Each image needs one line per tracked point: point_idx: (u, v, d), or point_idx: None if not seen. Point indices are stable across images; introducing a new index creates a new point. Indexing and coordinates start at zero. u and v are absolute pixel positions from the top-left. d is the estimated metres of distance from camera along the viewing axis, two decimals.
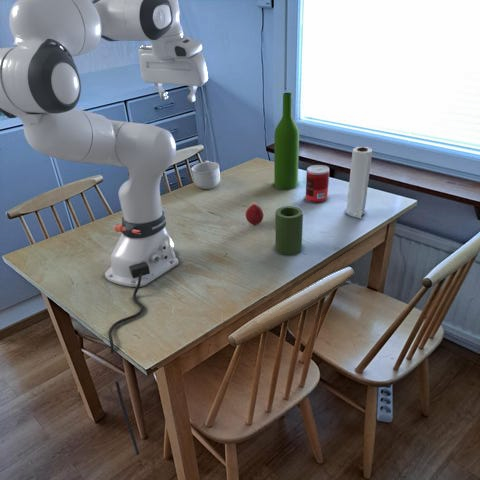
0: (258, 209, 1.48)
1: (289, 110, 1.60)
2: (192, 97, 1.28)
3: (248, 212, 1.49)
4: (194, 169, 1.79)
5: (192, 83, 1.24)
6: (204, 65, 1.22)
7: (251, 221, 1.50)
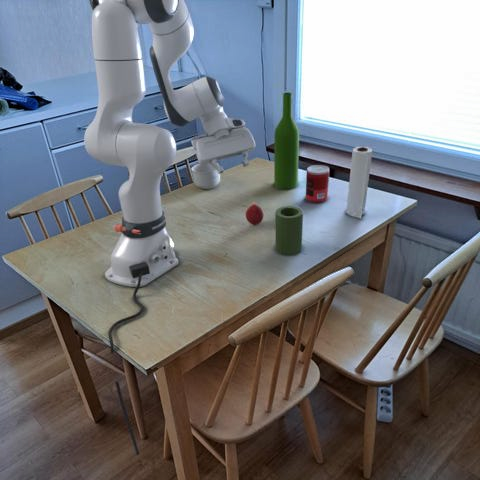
0: (258, 209, 1.48)
1: (289, 110, 1.60)
2: None
3: (248, 212, 1.49)
4: (194, 169, 1.79)
5: (248, 146, 1.53)
6: None
7: (251, 221, 1.50)
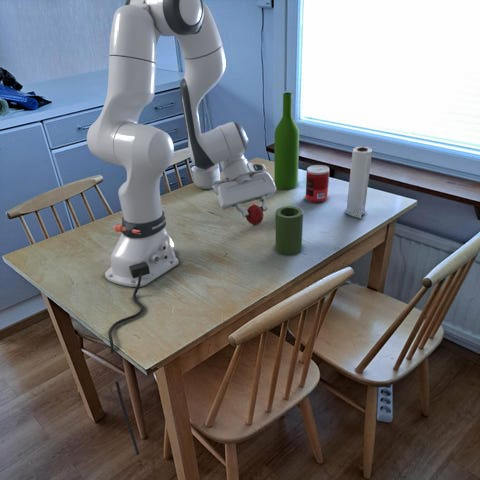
0: (258, 209, 1.48)
1: (289, 110, 1.60)
2: None
3: (248, 212, 1.49)
4: (194, 169, 1.79)
5: (269, 190, 1.51)
6: None
7: (251, 221, 1.50)
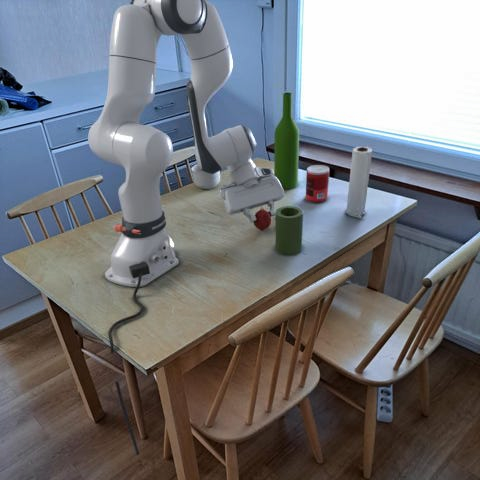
0: (266, 214, 1.45)
1: (289, 110, 1.60)
2: None
3: (256, 217, 1.45)
4: (194, 169, 1.79)
5: (277, 195, 1.48)
6: None
7: (259, 226, 1.46)
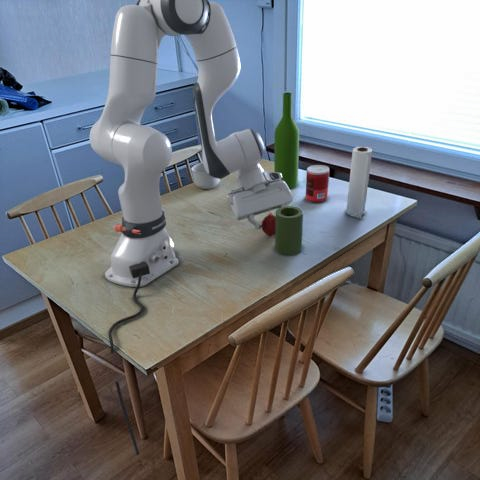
0: (275, 220, 1.42)
1: (289, 110, 1.60)
2: None
3: (264, 223, 1.42)
4: (194, 169, 1.79)
5: (286, 200, 1.45)
6: None
7: (267, 232, 1.43)
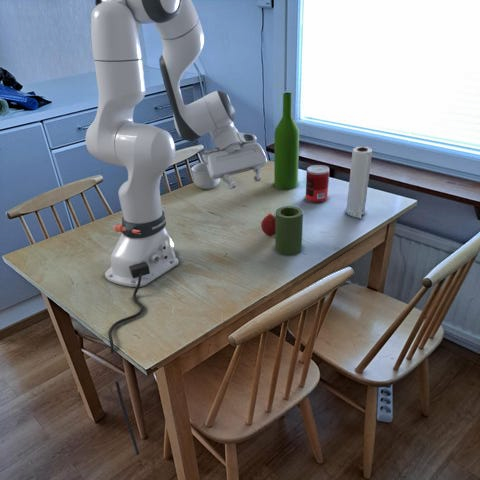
0: (274, 219, 1.42)
1: (289, 110, 1.60)
2: None
3: (264, 223, 1.42)
4: (194, 169, 1.79)
5: (260, 161, 1.49)
6: None
7: (267, 232, 1.43)
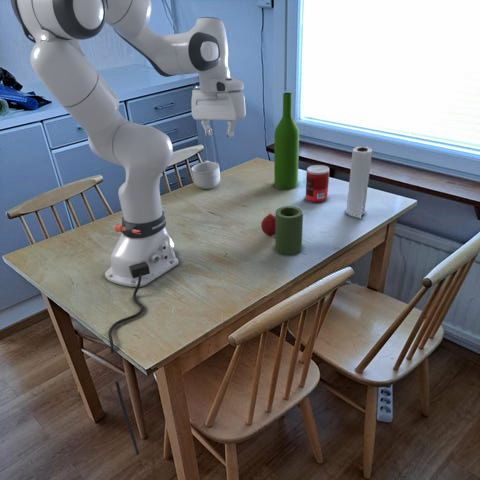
0: (274, 219, 1.42)
1: (289, 110, 1.60)
2: (230, 132, 1.35)
3: (264, 223, 1.42)
4: (194, 169, 1.79)
5: (229, 117, 1.31)
6: (242, 102, 1.29)
7: (267, 232, 1.43)
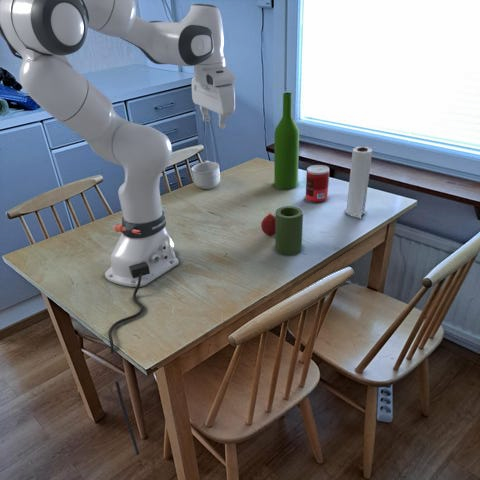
0: (274, 219, 1.42)
1: (289, 110, 1.60)
2: (221, 124, 1.33)
3: (264, 223, 1.42)
4: (194, 169, 1.79)
5: (218, 111, 1.29)
6: (231, 97, 1.26)
7: (267, 232, 1.43)
